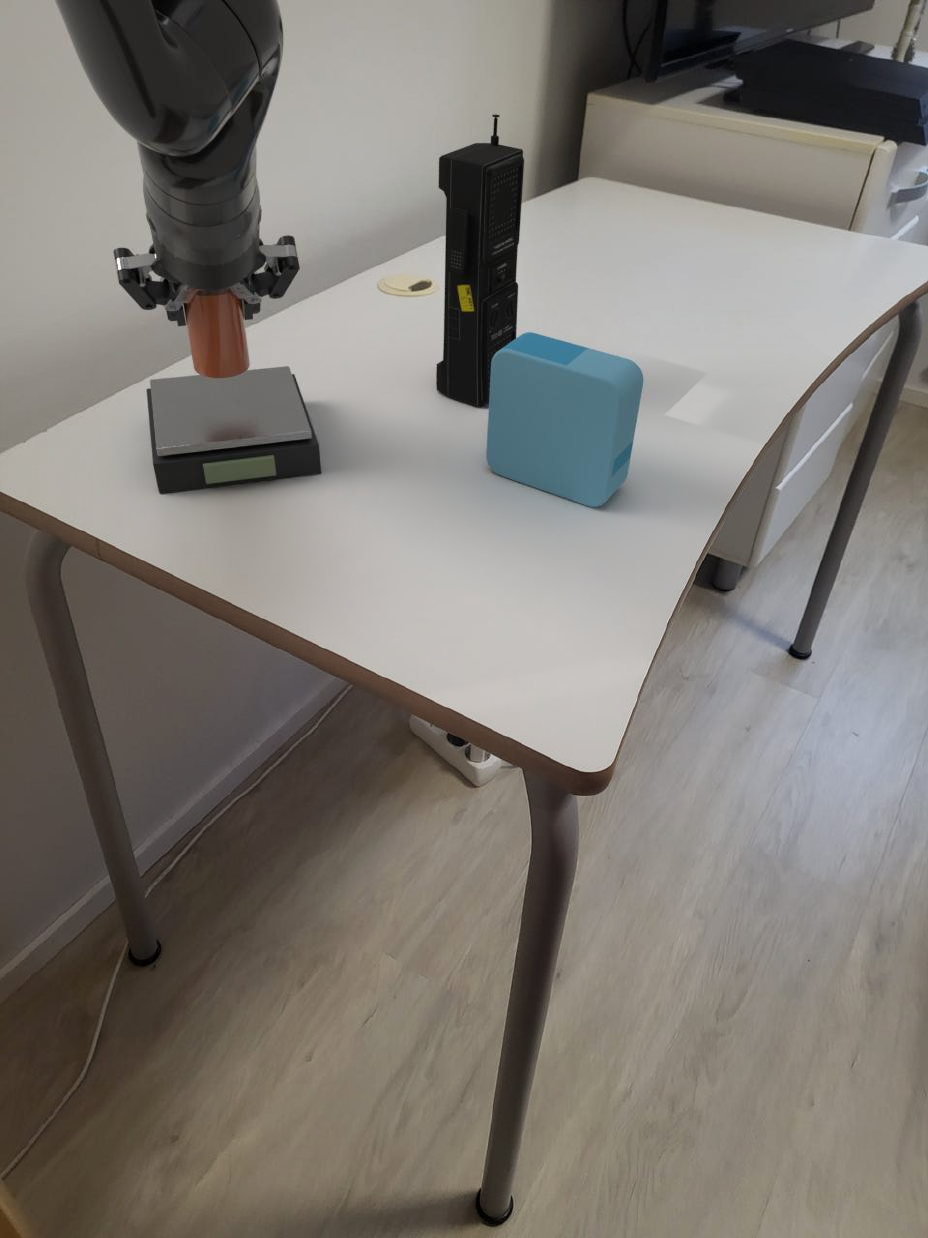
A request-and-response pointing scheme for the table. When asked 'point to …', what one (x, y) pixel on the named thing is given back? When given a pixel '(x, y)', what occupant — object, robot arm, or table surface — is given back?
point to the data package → (562, 417)
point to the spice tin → (217, 333)
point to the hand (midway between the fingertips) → (213, 311)
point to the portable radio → (479, 263)
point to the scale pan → (227, 411)
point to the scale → (234, 461)
